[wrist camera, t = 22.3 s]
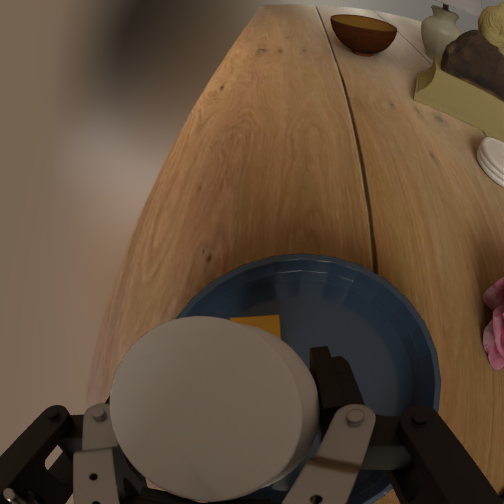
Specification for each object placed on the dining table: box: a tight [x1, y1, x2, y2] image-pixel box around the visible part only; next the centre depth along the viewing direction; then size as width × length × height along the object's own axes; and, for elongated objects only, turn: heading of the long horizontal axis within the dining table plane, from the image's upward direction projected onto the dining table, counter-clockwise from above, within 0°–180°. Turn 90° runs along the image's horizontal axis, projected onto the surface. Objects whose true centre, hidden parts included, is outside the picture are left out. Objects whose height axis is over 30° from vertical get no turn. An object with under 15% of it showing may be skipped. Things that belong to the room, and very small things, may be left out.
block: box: [230, 315, 281, 339], centre depth 23 cm, size 4×4×4 cm
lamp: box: [421, 0, 482, 59], centre depth 41 cm, size 24×24×40 cm
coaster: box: [477, 137, 504, 187], centre depth 32 cm, size 10×10×4 cm
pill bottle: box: [110, 316, 320, 502], centre depth 10 cm, size 6×6×11 cm
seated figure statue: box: [414, 2, 504, 143], centre depth 29 cm, size 28×13×30 cm, turn 61°
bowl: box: [330, 15, 397, 56], centre depth 54 cm, size 18×18×10 cm
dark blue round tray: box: [176, 253, 441, 504], centre depth 21 cm, size 23×23×5 cm
